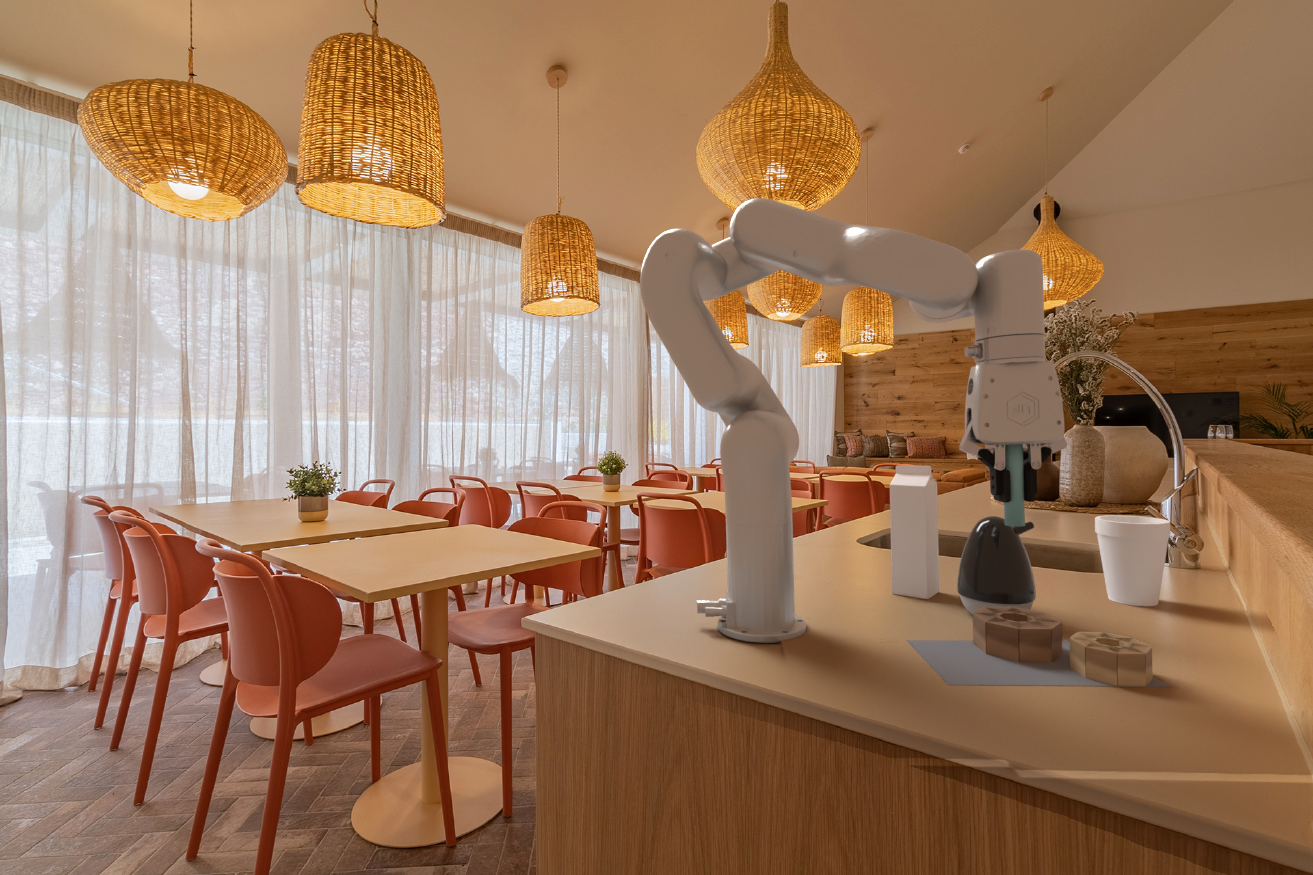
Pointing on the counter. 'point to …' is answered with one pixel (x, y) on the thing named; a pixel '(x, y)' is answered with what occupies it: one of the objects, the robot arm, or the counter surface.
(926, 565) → the milk
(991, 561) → the pump dispenser
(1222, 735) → the counter surface
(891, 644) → the counter surface
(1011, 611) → the bead
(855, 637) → the counter surface
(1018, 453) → the teal rounded rod
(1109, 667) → the oak bead
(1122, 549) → the foam cup
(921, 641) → the mat
